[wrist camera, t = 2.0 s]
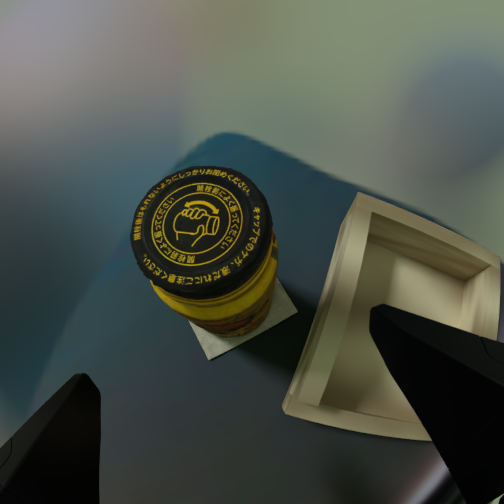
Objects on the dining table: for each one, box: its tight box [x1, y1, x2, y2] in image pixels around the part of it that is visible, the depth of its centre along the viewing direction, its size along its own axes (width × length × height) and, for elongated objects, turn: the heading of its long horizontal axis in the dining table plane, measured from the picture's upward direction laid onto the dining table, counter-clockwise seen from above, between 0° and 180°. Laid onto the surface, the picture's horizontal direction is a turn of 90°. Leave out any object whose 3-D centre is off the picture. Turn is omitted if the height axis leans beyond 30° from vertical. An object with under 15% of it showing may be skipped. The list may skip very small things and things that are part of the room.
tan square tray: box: [282, 192, 500, 441], centre depth 16 cm, size 15×14×5 cm
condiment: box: [130, 166, 298, 360], centre depth 15 cm, size 7×8×12 cm
